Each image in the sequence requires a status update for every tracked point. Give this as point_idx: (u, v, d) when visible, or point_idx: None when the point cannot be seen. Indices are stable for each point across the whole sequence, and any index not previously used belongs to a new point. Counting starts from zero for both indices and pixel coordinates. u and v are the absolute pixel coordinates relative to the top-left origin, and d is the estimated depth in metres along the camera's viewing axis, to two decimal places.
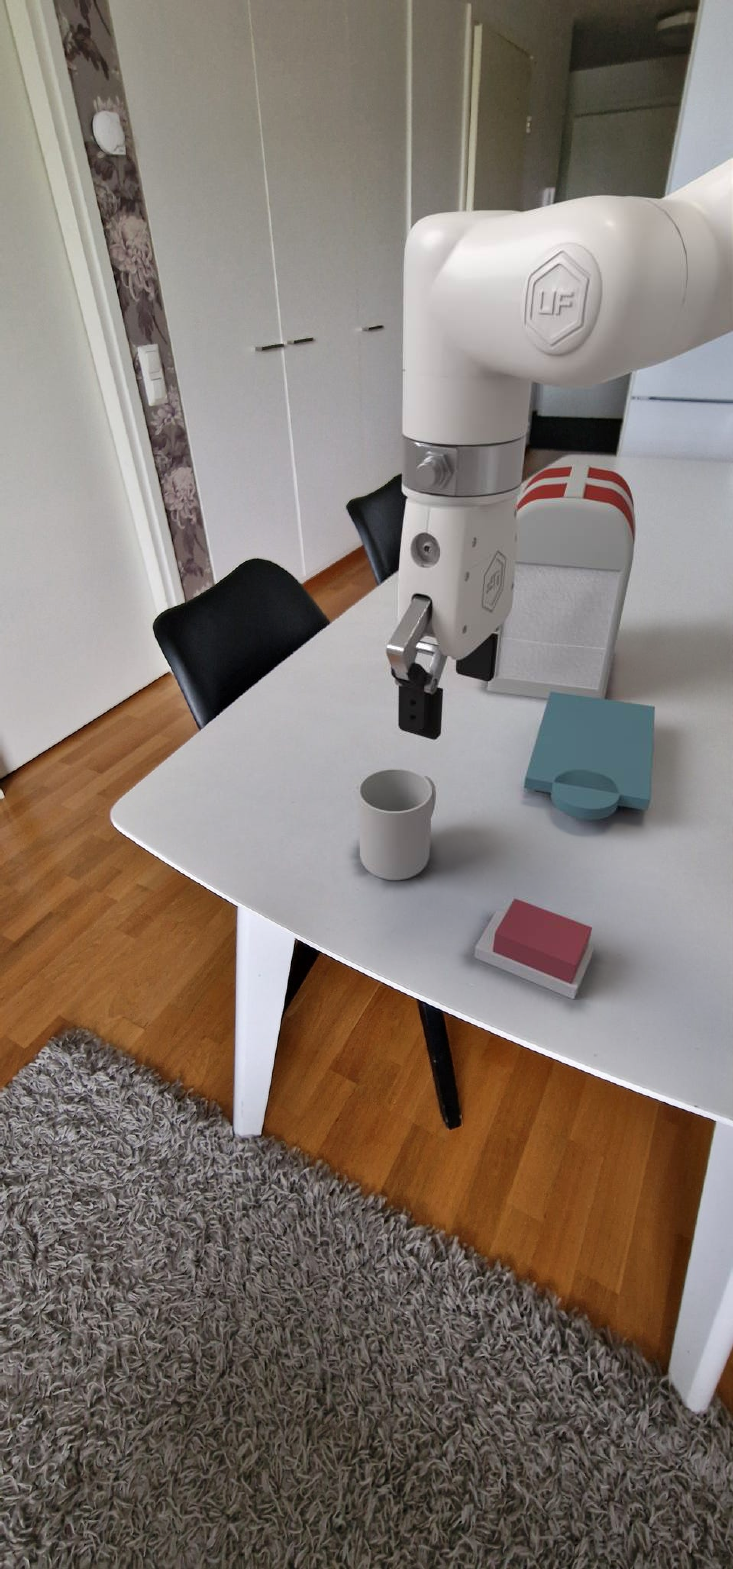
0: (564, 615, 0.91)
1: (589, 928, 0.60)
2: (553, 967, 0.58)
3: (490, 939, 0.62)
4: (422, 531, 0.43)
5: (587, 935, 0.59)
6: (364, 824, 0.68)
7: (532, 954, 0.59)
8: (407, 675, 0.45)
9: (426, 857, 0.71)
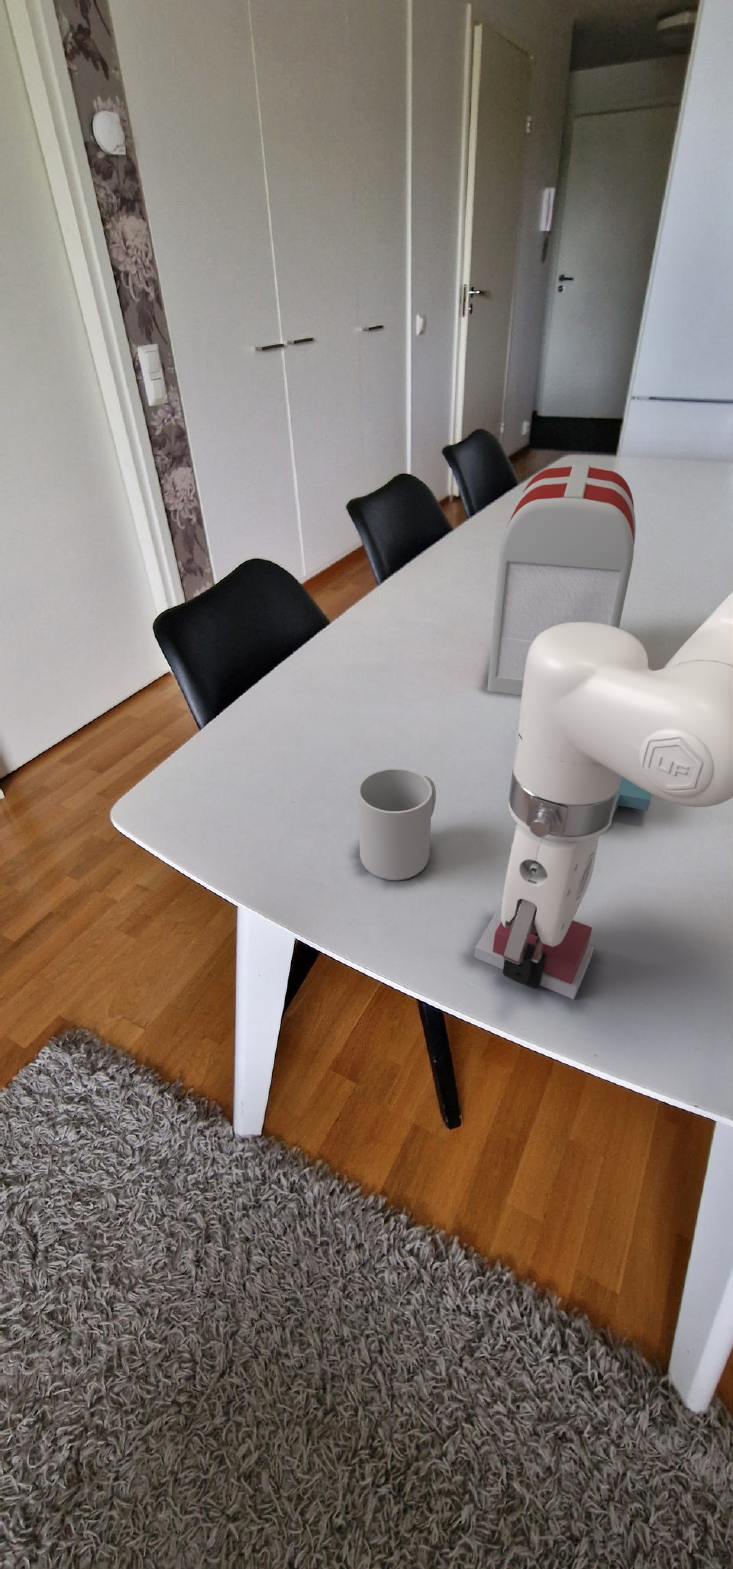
0: (564, 615, 0.91)
1: (589, 928, 0.60)
2: (553, 967, 0.58)
3: (490, 939, 0.62)
4: (531, 858, 0.50)
5: (587, 935, 0.59)
6: (364, 824, 0.68)
7: None
8: None
9: (426, 857, 0.71)
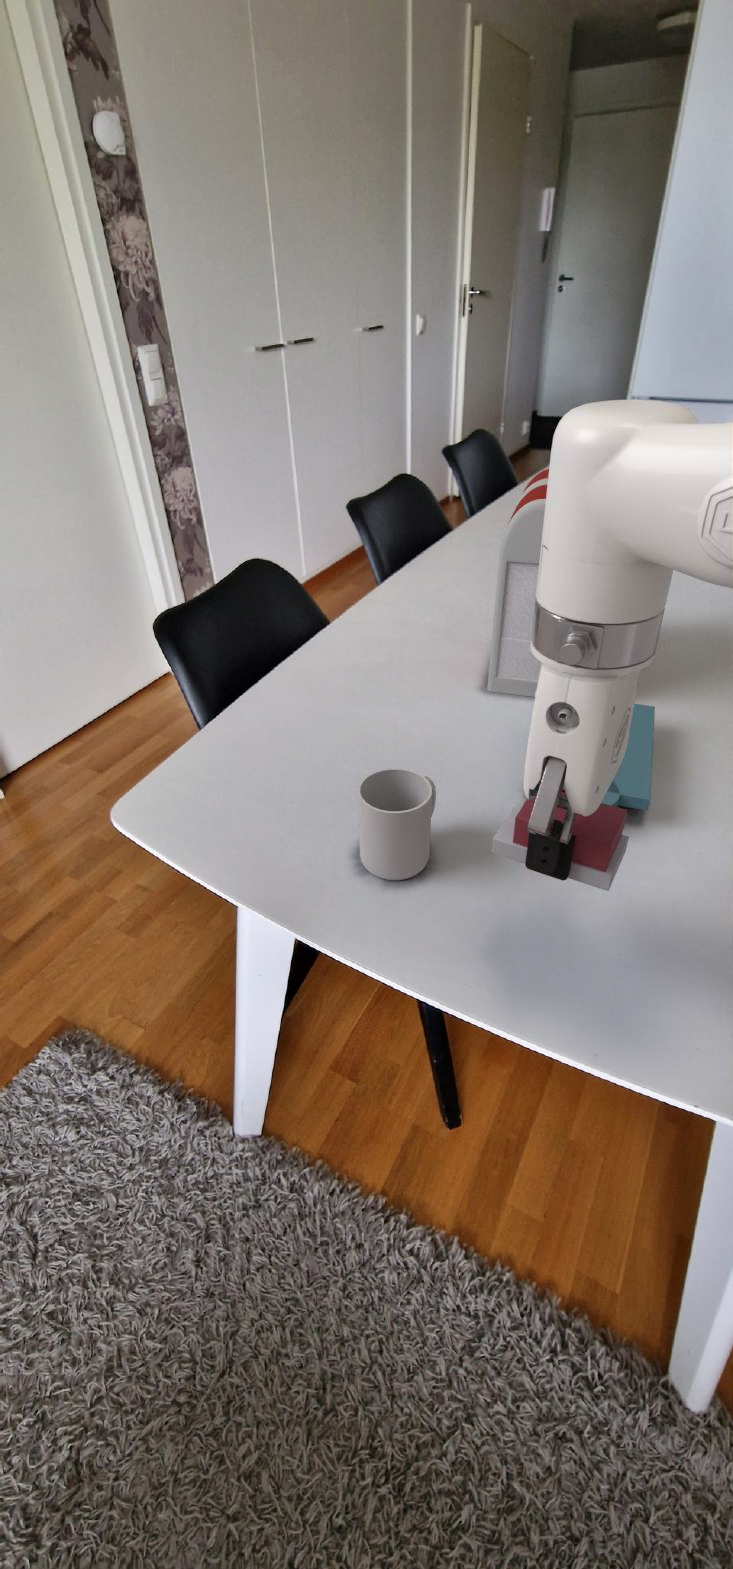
0: None
1: (624, 811, 0.52)
2: (583, 853, 0.50)
3: (510, 831, 0.54)
4: (560, 700, 0.42)
5: (622, 817, 0.51)
6: (364, 824, 0.68)
7: None
8: None
9: (426, 857, 0.71)
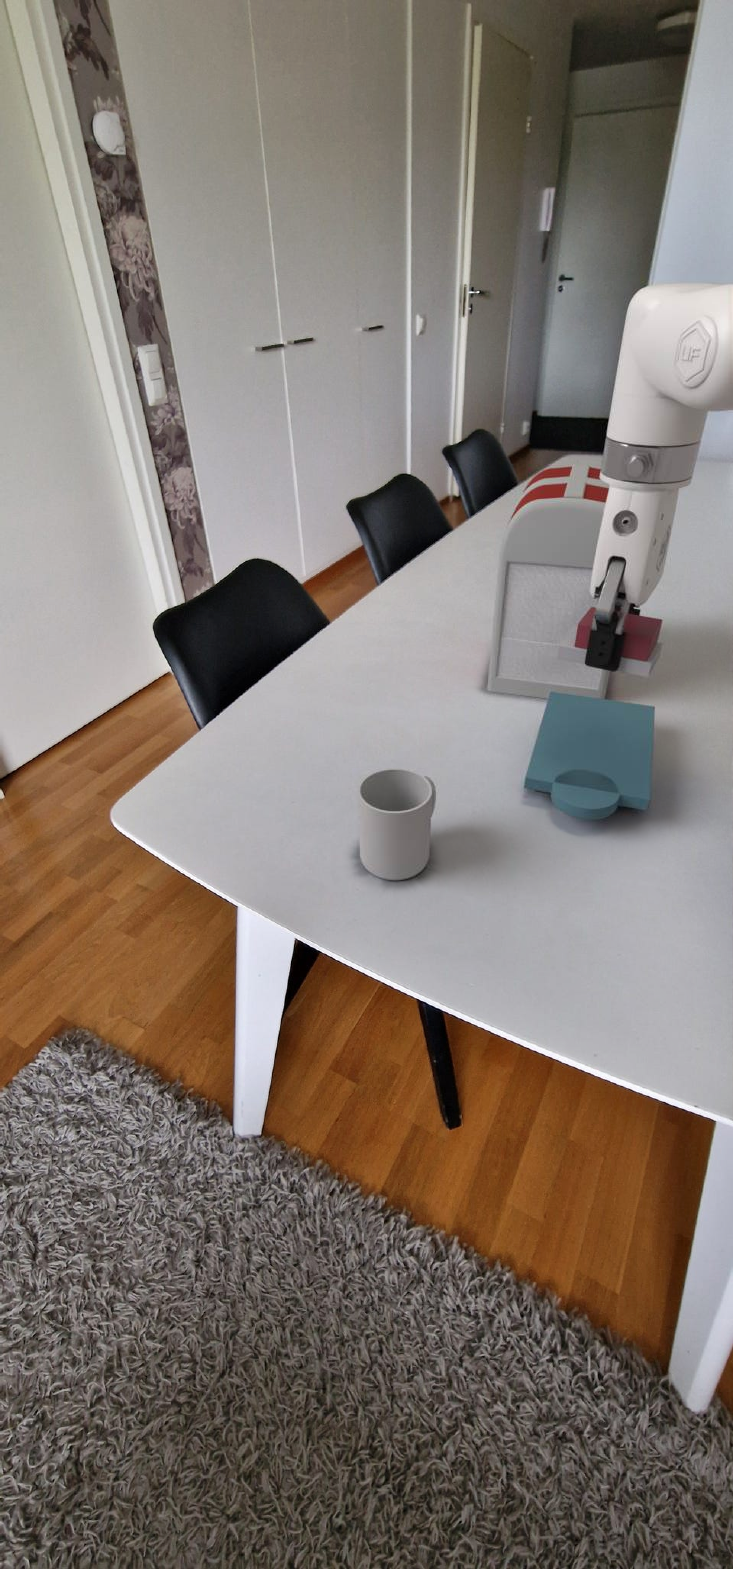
0: (564, 615, 0.91)
1: (660, 620, 0.68)
2: (630, 647, 0.67)
3: (571, 641, 0.71)
4: (624, 509, 0.58)
5: (659, 623, 0.68)
6: (364, 824, 0.68)
7: None
8: (609, 622, 0.63)
9: (426, 857, 0.71)
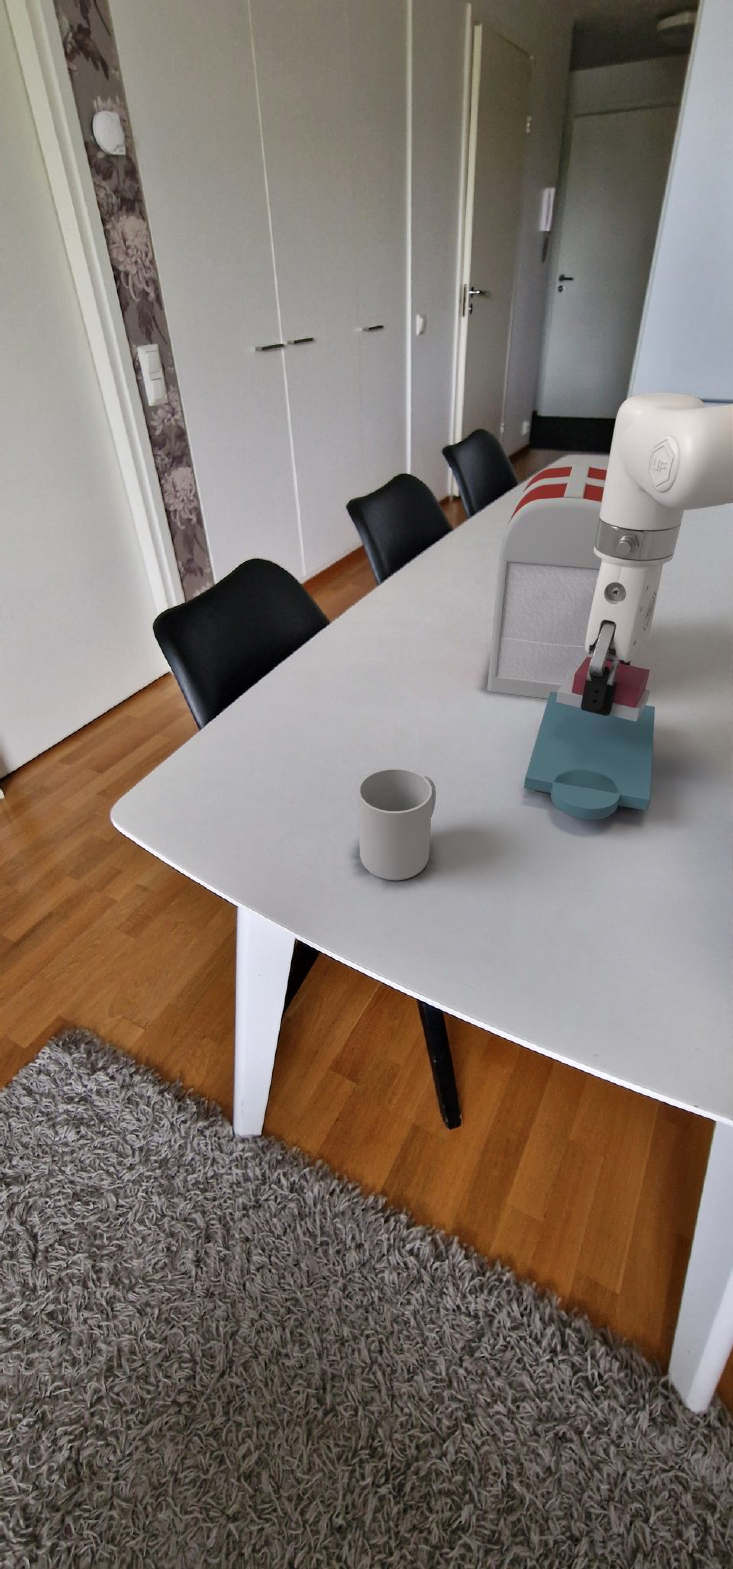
0: (564, 615, 0.91)
1: (647, 670, 0.77)
2: (620, 695, 0.76)
3: (568, 687, 0.80)
4: (614, 581, 0.67)
5: (646, 673, 0.76)
6: (364, 824, 0.68)
7: None
8: (601, 676, 0.72)
9: (426, 857, 0.71)
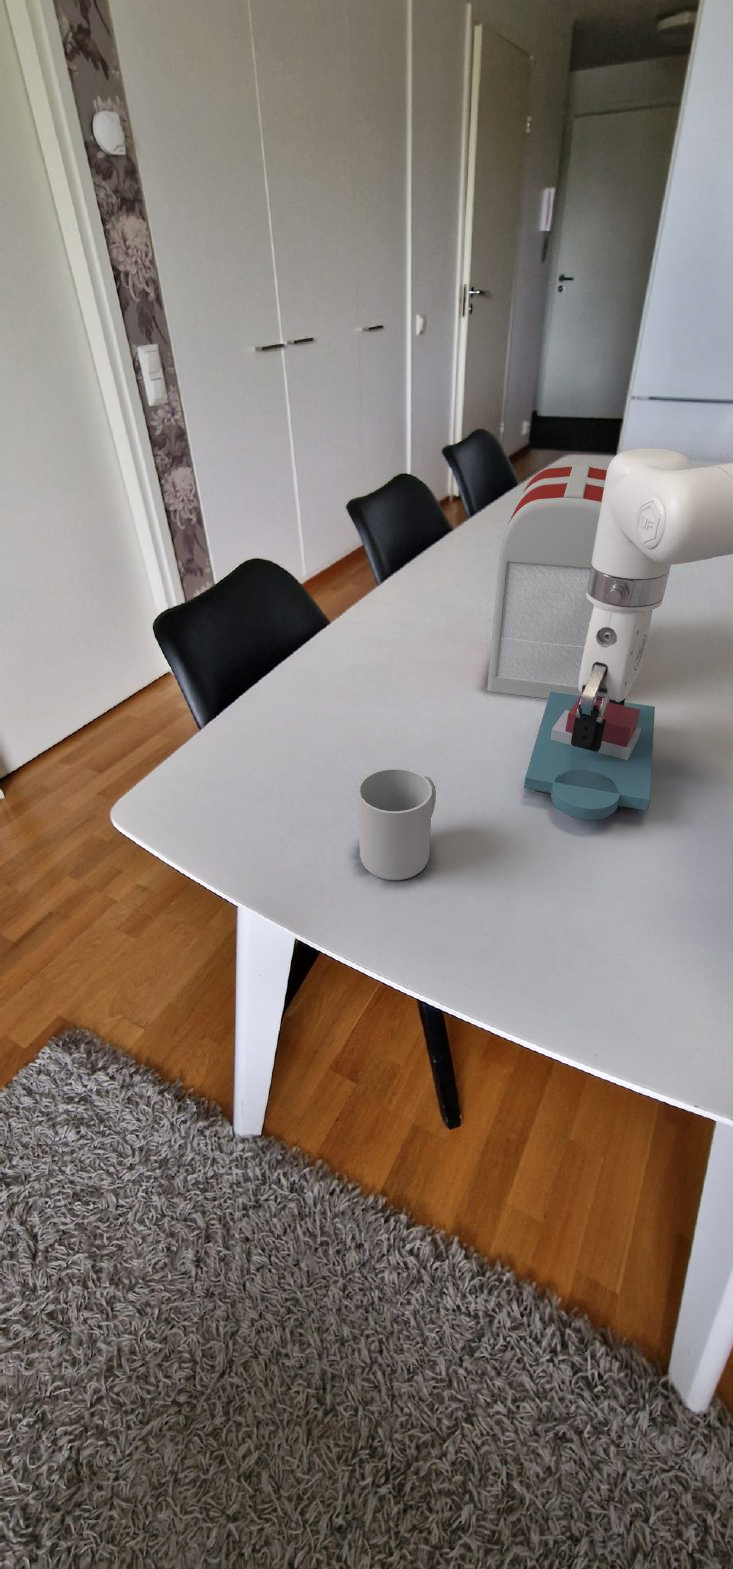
0: (564, 615, 0.91)
1: (638, 710, 0.80)
2: (612, 735, 0.79)
3: (562, 725, 0.83)
4: (605, 626, 0.70)
5: (637, 713, 0.79)
6: (364, 824, 0.68)
7: None
8: (590, 712, 0.72)
9: (426, 857, 0.71)
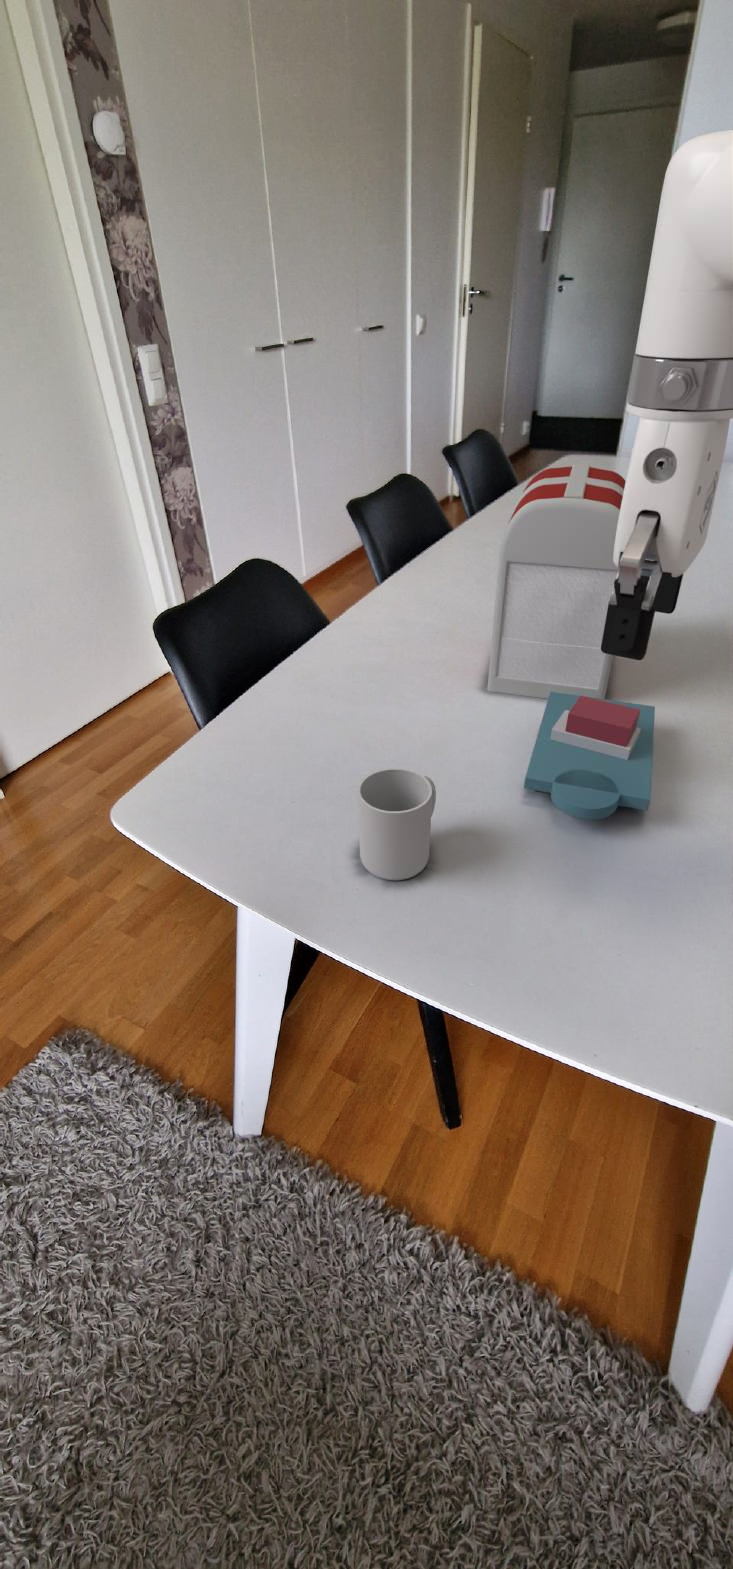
0: (564, 615, 0.91)
1: (638, 710, 0.80)
2: (612, 735, 0.79)
3: (562, 725, 0.83)
4: (659, 446, 0.45)
5: (637, 713, 0.79)
6: (364, 824, 0.68)
7: (597, 726, 0.79)
8: (633, 589, 0.47)
9: (426, 857, 0.71)
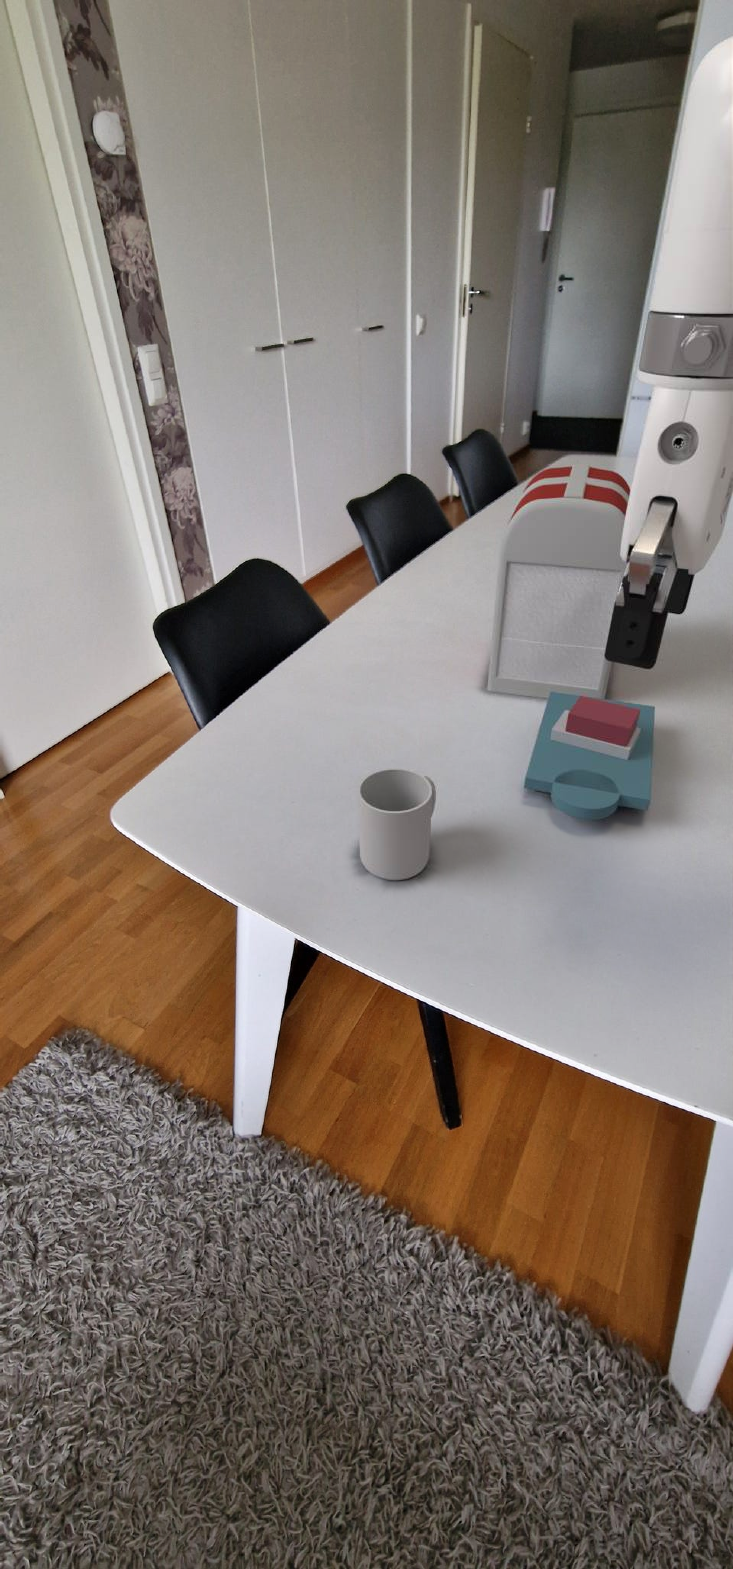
0: (564, 615, 0.91)
1: (638, 710, 0.80)
2: (612, 735, 0.79)
3: (562, 725, 0.83)
4: (677, 420, 0.38)
5: (637, 713, 0.79)
6: (364, 824, 0.68)
7: (597, 726, 0.79)
8: (645, 588, 0.40)
9: (426, 857, 0.71)
